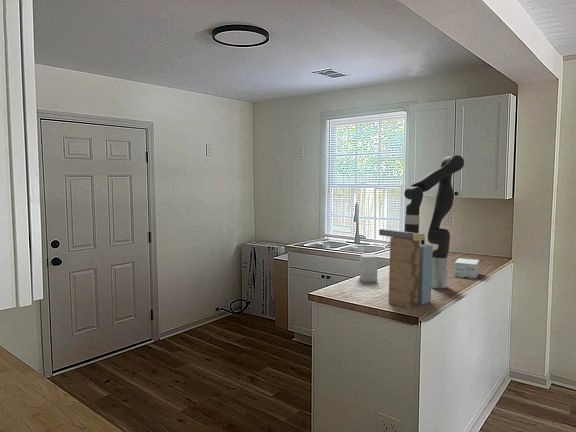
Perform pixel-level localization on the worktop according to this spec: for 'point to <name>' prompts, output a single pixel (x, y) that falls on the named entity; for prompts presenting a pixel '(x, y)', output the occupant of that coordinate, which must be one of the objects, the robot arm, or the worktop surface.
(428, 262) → the light blue tall block
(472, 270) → the supplement box
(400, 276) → the brown wooden tall block
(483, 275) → the worktop surface
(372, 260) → the supplement box
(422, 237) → the grey and tan bar
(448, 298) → the worktop surface
